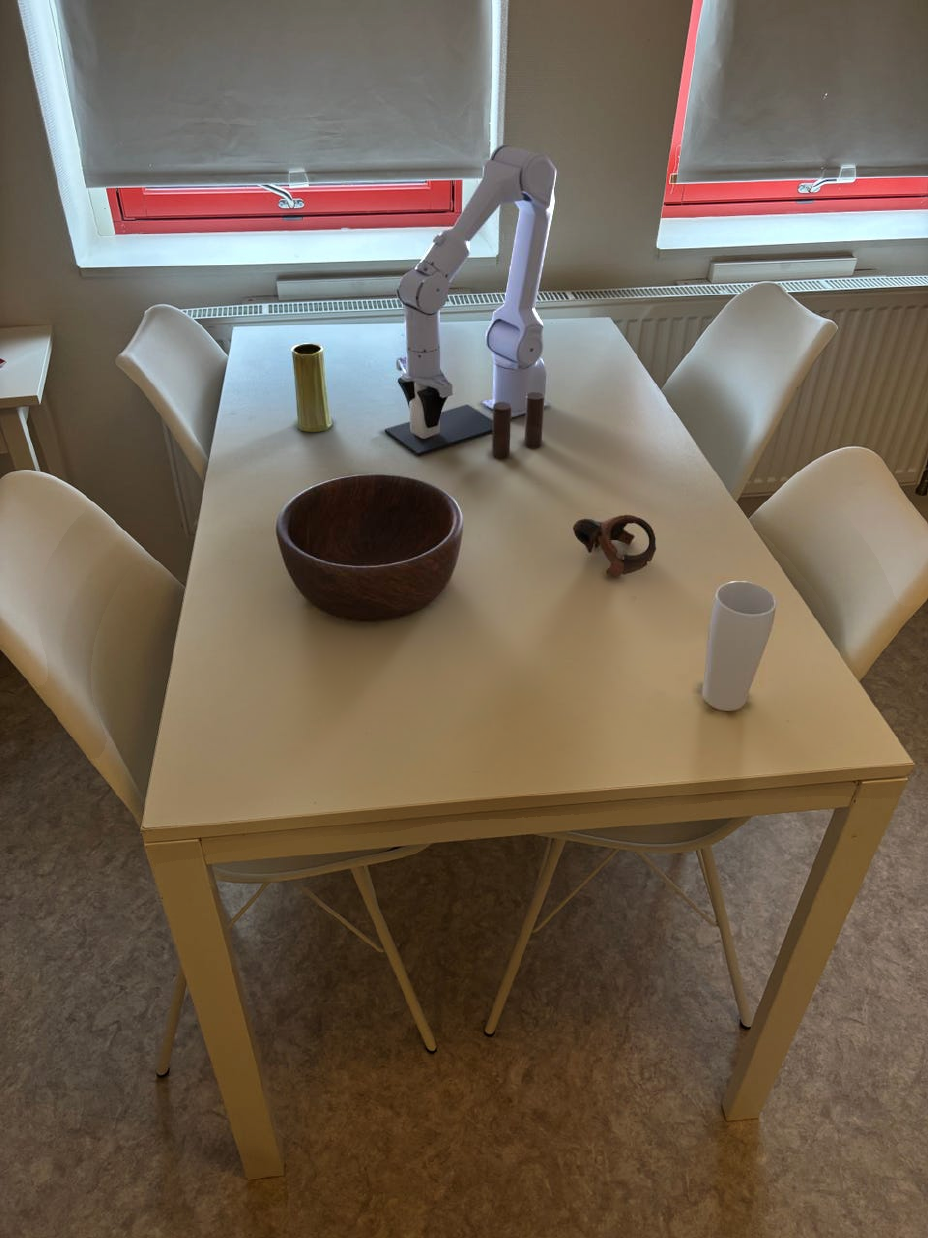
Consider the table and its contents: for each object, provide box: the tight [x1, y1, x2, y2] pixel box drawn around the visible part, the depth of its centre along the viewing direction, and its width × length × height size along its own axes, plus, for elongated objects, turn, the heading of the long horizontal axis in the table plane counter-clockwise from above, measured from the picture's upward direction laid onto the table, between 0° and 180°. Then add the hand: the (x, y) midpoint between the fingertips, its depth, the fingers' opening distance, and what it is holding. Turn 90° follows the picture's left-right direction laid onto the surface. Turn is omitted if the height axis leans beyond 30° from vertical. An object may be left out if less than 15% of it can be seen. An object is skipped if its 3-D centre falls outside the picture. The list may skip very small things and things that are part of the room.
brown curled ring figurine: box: [572, 514, 657, 579], centre depth 137 cm, size 12×10×8 cm
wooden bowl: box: [275, 473, 464, 622], centre depth 131 cm, size 25×25×10 cm
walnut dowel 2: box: [523, 392, 545, 449], centre depth 165 cm, size 3×3×9 cm
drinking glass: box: [701, 580, 778, 712], centre depth 111 cm, size 7×7×15 cm
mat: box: [384, 404, 493, 457], centre depth 171 cm, size 18×11×1 cm, turn 125°
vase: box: [291, 342, 332, 433], centre depth 169 cm, size 6×6×14 cm
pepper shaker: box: [408, 382, 440, 439], centre depth 166 cm, size 4×4×10 cm
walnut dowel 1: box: [491, 402, 512, 460], centre depth 162 cm, size 3×3×9 cm
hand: (424, 421), depth 168 cm, fingers closed on pepper shaker, 4 cm apart
